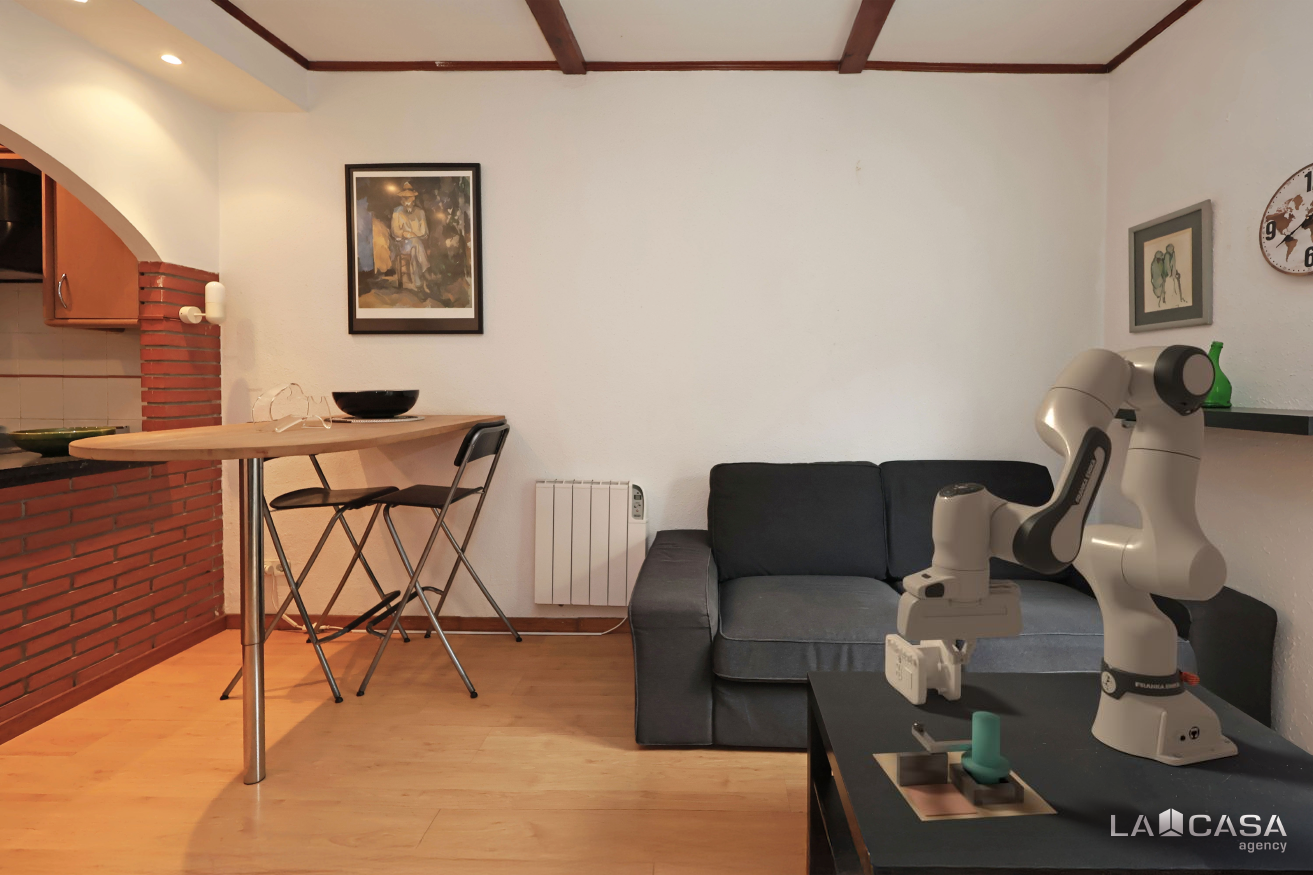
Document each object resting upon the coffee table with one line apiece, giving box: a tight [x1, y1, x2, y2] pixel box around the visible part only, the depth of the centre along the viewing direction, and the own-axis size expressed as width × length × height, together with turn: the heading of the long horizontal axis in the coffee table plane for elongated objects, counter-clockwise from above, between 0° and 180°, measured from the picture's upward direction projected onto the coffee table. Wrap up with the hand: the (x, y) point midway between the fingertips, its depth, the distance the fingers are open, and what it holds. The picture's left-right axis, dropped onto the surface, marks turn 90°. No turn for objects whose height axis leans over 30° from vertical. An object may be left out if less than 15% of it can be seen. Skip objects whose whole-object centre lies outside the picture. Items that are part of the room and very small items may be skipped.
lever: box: [911, 720, 972, 753], centre depth 122 cm, size 10×7×2 cm
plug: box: [961, 710, 1012, 785], centre depth 116 cm, size 7×7×12 cm
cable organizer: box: [884, 633, 962, 706], centre depth 155 cm, size 15×11×12 cm
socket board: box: [872, 750, 1058, 822], centre depth 119 cm, size 21×20×6 cm
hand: (959, 663), depth 122 cm, fingers closed
